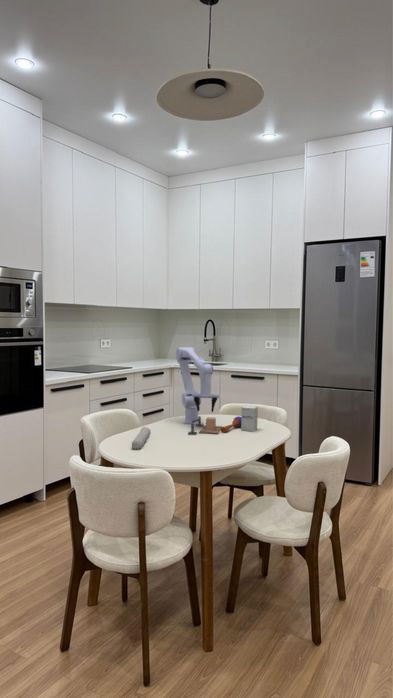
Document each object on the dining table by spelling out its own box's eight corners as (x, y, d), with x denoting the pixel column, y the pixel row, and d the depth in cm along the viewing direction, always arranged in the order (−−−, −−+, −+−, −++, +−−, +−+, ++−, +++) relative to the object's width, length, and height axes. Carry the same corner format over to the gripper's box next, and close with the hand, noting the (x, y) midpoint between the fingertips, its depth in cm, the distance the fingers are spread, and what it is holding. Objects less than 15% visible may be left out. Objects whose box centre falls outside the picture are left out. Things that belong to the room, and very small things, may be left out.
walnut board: (204, 426, 261) (204, 425, 261) (222, 427, 259) (222, 426, 259) (198, 433, 246) (198, 432, 246) (217, 434, 244) (218, 433, 244)
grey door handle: (196, 424, 266) (196, 415, 266) (203, 425, 265) (203, 415, 265) (187, 434, 243) (187, 424, 242) (195, 435, 242) (195, 424, 242)
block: (207, 428, 255) (207, 417, 255) (215, 428, 254) (215, 417, 254) (205, 430, 251) (205, 418, 250) (214, 430, 250) (214, 419, 249)
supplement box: (240, 430, 253) (241, 407, 252) (244, 427, 259) (244, 404, 259) (254, 431, 250) (254, 408, 249) (257, 429, 257) (258, 405, 256)
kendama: (217, 424, 249) (235, 415, 266) (219, 436, 249) (237, 426, 266) (227, 424, 246) (244, 414, 262) (229, 435, 246) (246, 425, 262)
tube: (143, 442, 213) (152, 428, 238) (132, 438, 213) (142, 425, 238) (139, 453, 214) (148, 438, 238) (128, 449, 214) (138, 435, 239)
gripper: (191, 386, 254) (190, 412, 255) (217, 387, 251) (217, 413, 252) (193, 385, 261) (193, 409, 262) (219, 386, 258) (219, 410, 259)
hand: (205, 411), depth 257 cm, fingers open, 7 cm apart
